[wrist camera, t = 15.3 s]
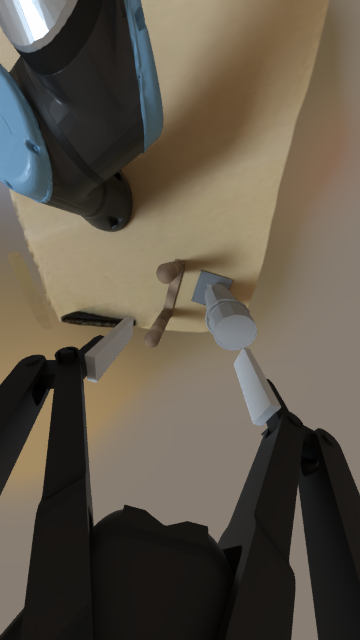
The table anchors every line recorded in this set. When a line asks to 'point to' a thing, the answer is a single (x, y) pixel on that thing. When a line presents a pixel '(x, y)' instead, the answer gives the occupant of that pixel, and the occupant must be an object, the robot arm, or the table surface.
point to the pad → (201, 286)
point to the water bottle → (228, 318)
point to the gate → (166, 275)
